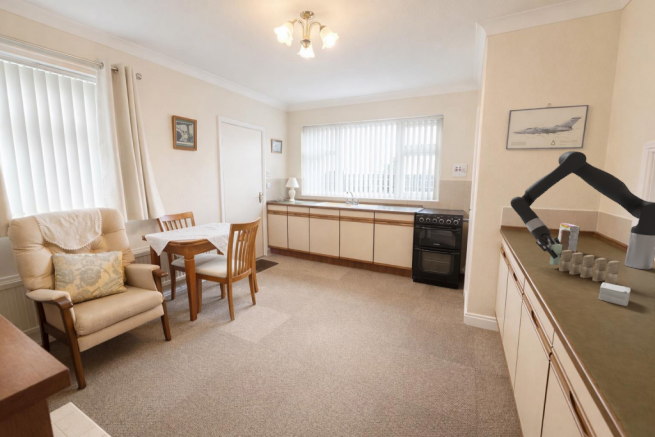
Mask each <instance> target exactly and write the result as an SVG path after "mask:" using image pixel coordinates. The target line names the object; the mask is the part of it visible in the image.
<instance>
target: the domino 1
mask: <svg viewBox="0 0 655 437" xmlns="http://www.w3.org/2000/svg"><path fill="white" fill-rule="evenodd" d="M552 249H553V250H554V252H555V253H556V254H557V255H558V257H557V258H555V259H553V257H552V256H551V255H550V257H549V262H548V263H549V265H551V266H556V265H560V260H561V257H560V256H561V250H562V245H561V244H555V245H554V244H553V245H552Z"/></svg>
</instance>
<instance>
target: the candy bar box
mask: <svg viewBox="0 0 655 437" xmlns="http://www.w3.org/2000/svg"><path fill="white" fill-rule="evenodd" d="M580 228H581V226H578V225H575V224H572V223H568V222H567V223H565V222H560V223H559V228H558V229H559V230H558V236H557V238H558V240H559V241H560V239H561V231H562V230H569V231H570V234H569V241H568V249H569V250H574V253H577V251H578V250H577V249H578V243H579V236H580V235H579V234H580Z"/></svg>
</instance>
